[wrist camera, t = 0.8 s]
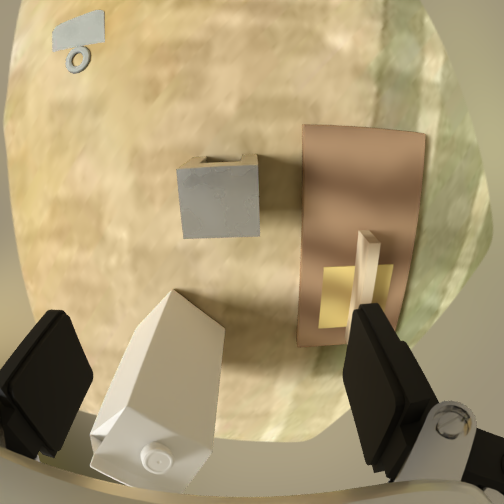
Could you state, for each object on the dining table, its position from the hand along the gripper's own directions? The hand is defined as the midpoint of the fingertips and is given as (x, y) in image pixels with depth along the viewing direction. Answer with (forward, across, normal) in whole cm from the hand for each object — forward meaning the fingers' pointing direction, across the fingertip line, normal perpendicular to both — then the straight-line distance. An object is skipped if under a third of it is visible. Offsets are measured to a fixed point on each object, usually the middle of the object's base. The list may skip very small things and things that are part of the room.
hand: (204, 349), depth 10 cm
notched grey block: (+19, +1, -1) cm, 19 cm away
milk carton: (+20, +7, +14) cm, 25 cm away
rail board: (+19, -11, +5) cm, 23 cm away
